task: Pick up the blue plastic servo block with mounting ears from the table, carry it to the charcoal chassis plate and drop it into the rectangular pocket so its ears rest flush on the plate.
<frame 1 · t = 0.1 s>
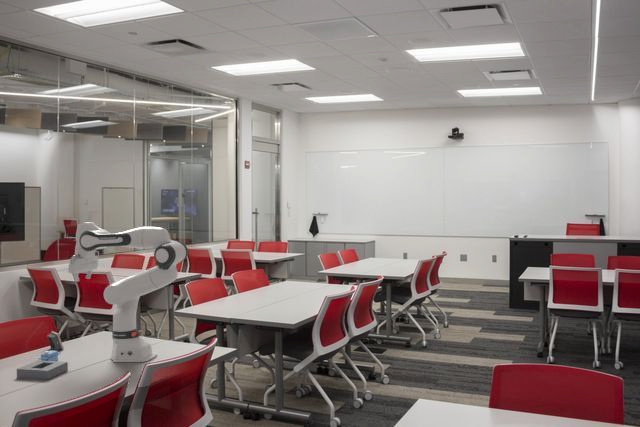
hand: (82, 280, 299), 39 cm above the table, tool pointing down, fingers open, 8 cm apart
servo: (49, 364, 284), on the table
electrical switch: (55, 349, 313), on the table
chassis: (42, 374, 269), on the table
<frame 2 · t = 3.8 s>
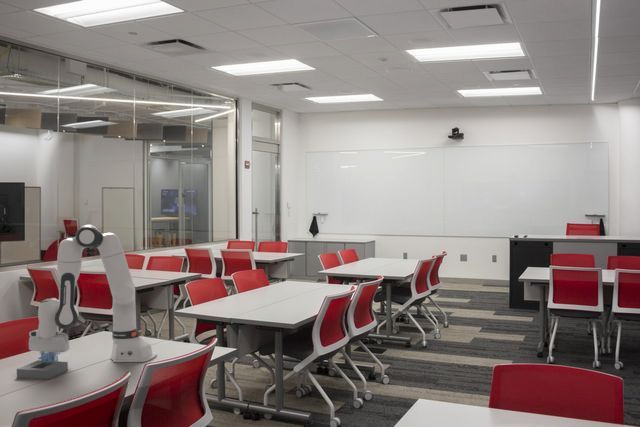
hand: (49, 360, 284), 2 cm above the table, tool pointing down, fingers closed on servo, 4 cm apart
servo: (49, 364, 284), on the table, touching gripper
everything else where it was.
when the fingers open (6 cm above the table, at t = 8.4 s): servo drops 4 cm, resting in chassis.
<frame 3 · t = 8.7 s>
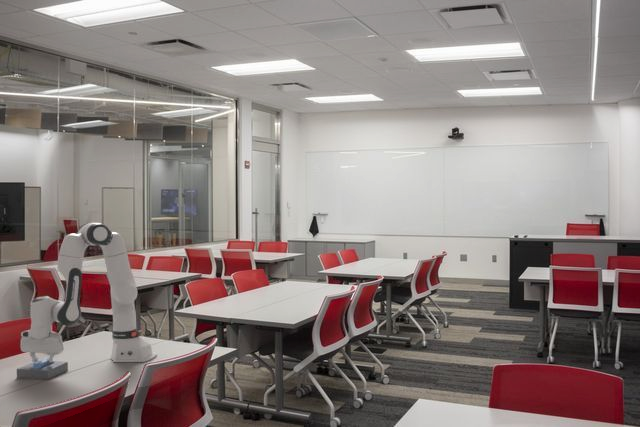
hand: (42, 361, 269), 6 cm above the table, tool pointing down, fingers open, 6 cm apart
servo: (42, 374, 269), resting in chassis
everything else where it was.
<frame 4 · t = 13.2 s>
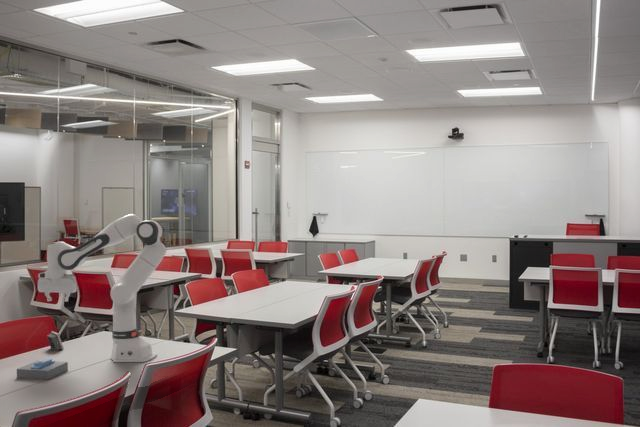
hand: (57, 301, 293), 29 cm above the table, tool pointing down, fingers open, 8 cm apart
servo: (43, 373, 269), resting in chassis
everything else where it was.
at the end: servo 0.4 cm off-centre on the chassis, point 0.0 cm above the chassis's base; servo tilted 0°; the gripper is holding nothing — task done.
